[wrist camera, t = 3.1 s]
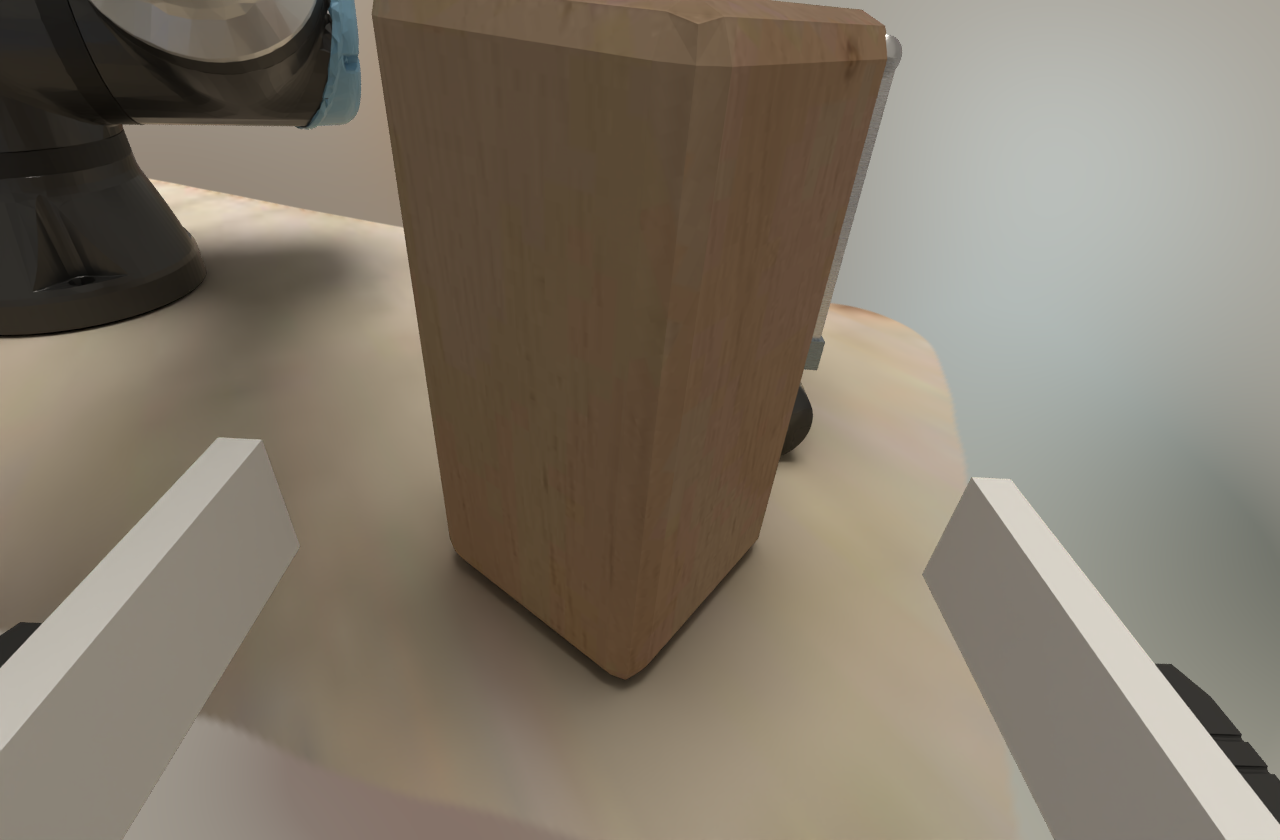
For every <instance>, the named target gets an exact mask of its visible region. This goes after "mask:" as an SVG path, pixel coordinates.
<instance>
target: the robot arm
mask: <svg viewBox="0 0 1280 840" xmlns="http://www.w3.org/2000/svg"><path fill="white" fill-rule="evenodd" d="M358 44H359V39H358V28H357V19H356V10H355V3H354V0H0V335H21V334H37V333H48V332H57V331H65V330H72V329H78V328H84V327H89V326H95V325H99V324H104V323H109V322H113V321H117V320H121V319H125V318H128V317H132V316H135V315H138V314H142V313H145V312H148V311H151V310H153V309H156V308H159V307H161V306H164V305H166V304H168V303H170V302H173V301H175V300H177V299H179V298H181V297H182V296H184V295H186V294H187V293H189V292H190V291H192V290H193V289H195V288H196V287H197V286H198V285H199V284H200V283H201V282H202V280H203V279H204V277H205V275H206V268H205V265H204V262H203V259H202V257H201V254H200V251H199V248H198V245H197V243H196V241H195V239H194V238H193V236H192V235H191V234H190V233H189V232H188V231H187V230H186V229H185V228H184V227H183V226H182V225H181V223H180V222H179V220H178V219H177V217H176V216H175V214H174V213H173V212H172V210H171V209H170V207H169V206H168V205H167V203H166V202H165V200H164V199H163V198H162V196H161V195H160V194H159V192H158V191H157V190H156V188H155V187H154V186H153V184H152V183H151V182H150V180H149V179H148V178H147V177H146V175H145V174H144V173H143V171H142V170H141V169H140V167H139V166H138V164H137V162H136V160H135V157H134V155H133V152H132V150H131V147H130V145H129V142H128V139H127V137H126V134H125V132H124V129H123V125H122V124H129V125H133V124H135V125H136V124H137V125H139V124H140V125H145V124H152V125H157V124H158V125H236V126H295V127H297V128H300V129H313V128H315V127H317V126H322V125H323V126H325V125H342V124H346V123H348V122H350V121H351V120H352V119H353V118H354V117H355V116H356V114H357V112H358V109H359V105H360V98H361V72H360V63H359V59H358V54H359V50H358ZM299 548H300V545H299V542H298V539H297V536H296V534H295V531H294V528H293V525H292V522H291V519H290V517H289V514H288V511H287V508H286V505H285V503H284V500H283V497H282V494H281V491H280V488H279V486H278V483H277V480H276V477H275V474H274V472H273V469H272V466H271V463H270V460H269V458H268V455H267V452H266V449H265V446H264V443H263V441H262V440H261V439H242V438H223V437H218V438H217V439H216V440H215V441H214V442H213V443H212V444H211V445H210V446H209V447H208V448H207V450H206V451H205V452H204V453H203V454H202V455H201V456H200V457H199V458H198V459H197V460H196V461H195V462H194V463H193V464H192V465H191V467H190V468H189V469H188V470H187V471H186V472H185V473H184V474H183V475H182V476H181V477H180V478H179V479H178V480H177V481H176V482H175V483H174V485H173V486H172V487H171V488H170V489H169V490H168V491H167V492H166V493H165V494H164V495H163V496H162V497H161V498H160V499H159V500H158V501H157V503H156V504H155V505H154V506H153V507H152V508H151V509H150V510H149V511H148V512H147V513H146V514H145V515H144V516H143V517H142V518H141V519H140V521H139V522H138V523H137V524H136V525H135V526H134V527H133V528H132V529H131V530H130V531H129V532H128V533H127V534H126V535H125V536H124V538H123V539H122V540H121V541H120V542H119V543H118V544H117V545H116V546H115V547H114V548H113V549H112V550H111V551H110V552H109V553H108V554H107V556H106V557H105V558H104V559H103V560H102V561H101V562H100V563H99V564H98V565H97V566H96V567H95V568H94V569H93V570H92V571H91V572H90V574H89V575H88V576H87V577H86V578H85V579H84V580H83V581H82V582H81V583H80V584H79V585H78V586H77V587H76V588H75V589H74V590H73V592H72V593H71V594H70V595H69V596H68V597H67V598H66V599H65V600H64V601H63V602H62V603H61V604H60V605H59V606H58V607H57V609H56V610H55V611H54V612H53V613H52V614H51V615H50V616H49V617H48V618H47V619H46V620H45V621H44V622H43V623H26V622H20V623H19V624H17V625H16V626H14V627H13V628H11V629H10V630H8V631H7V632H5V633H4V634H2V635H1V636H0V840H122V839H123V838H124V836H125V834H126V833H127V831H128V829H129V828H130V826H131V824H132V823H133V821H134V819H135V818H136V816H137V814H138V813H139V811H140V810H141V808H142V806H143V805H144V803H145V801H146V799H147V798H148V796H149V795H150V793H151V792H152V790H153V788H154V787H155V785H156V783H157V782H158V780H159V778H160V777H161V775H162V773H163V772H164V770H165V768H166V767H167V765H168V763H169V762H170V760H171V759H172V757H173V755H174V754H175V752H176V750H177V749H178V747H179V745H180V744H181V742H182V740H183V739H184V737H185V736H186V734H187V732H188V731H189V729H190V727H191V726H192V724H193V722H194V721H195V719H196V717H197V716H198V714H199V712H200V711H201V709H202V708H203V706H204V704H205V703H206V701H207V699H208V698H209V696H210V694H211V693H212V691H213V689H214V688H215V686H216V684H217V683H218V681H219V680H220V678H221V676H222V675H223V673H224V671H225V670H226V668H227V666H228V665H229V663H230V661H231V660H232V658H233V656H234V655H235V653H236V651H237V650H238V648H239V647H240V645H241V643H242V642H243V640H244V638H245V637H246V635H247V633H248V632H249V630H250V628H251V627H252V625H253V623H254V622H255V620H256V619H257V617H258V615H259V614H260V612H261V610H262V609H263V607H264V605H265V604H266V602H267V600H268V599H269V597H270V595H271V594H272V592H273V591H274V589H275V587H276V586H277V584H278V582H279V581H280V579H281V577H282V576H283V574H284V572H285V571H286V569H287V567H288V566H289V564H290V563H291V561H292V559H293V558H294V556H295V554H296V553H297V551H298V549H299ZM922 575H923V577H924V579H925V581H926V583H927V585H928V587H929V589H930V591H931V593H932V595H933V597H934V599H935V601H936V603H937V605H938V607H939V609H940V611H941V613H942V615H943V617H944V619H945V621H946V623H947V625H948V627H949V629H950V631H951V633H952V635H953V637H954V639H955V641H956V643H957V645H958V647H959V649H960V651H961V653H962V655H963V657H964V659H965V661H966V663H967V665H968V667H969V669H970V671H971V673H972V675H973V677H974V679H975V681H976V683H977V685H978V687H979V689H980V691H981V694H982V696H983V698H984V700H985V702H986V704H987V706H988V708H989V710H990V712H991V714H992V716H993V718H994V720H995V722H996V724H997V726H998V728H999V730H1000V732H1001V734H1002V736H1003V738H1004V740H1005V742H1006V744H1007V746H1008V748H1009V750H1010V752H1011V754H1012V756H1013V758H1014V760H1015V762H1016V764H1017V766H1018V768H1019V770H1020V772H1021V773H1022V776H1023V778H1024V780H1025V782H1026V784H1027V786H1028V788H1029V790H1030V792H1031V794H1032V796H1033V798H1034V800H1035V802H1036V804H1037V806H1038V808H1039V810H1040V812H1041V814H1042V816H1043V818H1044V820H1045V822H1046V824H1047V826H1048V828H1049V830H1050V832H1051V834H1052V836H1053V838H1054V840H1280V780H1279V779H1278V778H1277V777H1276V775H1275V774H1270V773H1269V772H1268V770H1267V767H1268V766H1267V765H1266V763H1265V762H1264V761H1263V760H1262V759H1261V757H1260V756H1259V755H1258V754H1257V752H1256V751H1255V750H1254V749H1253V748H1252V746H1251V745H1250V744H1249V743H1248V742H1244V741H1243V740H1242V738H1241V735H1242V734H1241V733H1240V732H1239V731H1238V729H1237V728H1236V727H1235V726H1234V725H1233V723H1232V722H1231V721H1230V720H1229V718H1228V717H1227V716H1226V715H1225V714H1224V712H1223V711H1222V710H1221V709H1220V707H1219V706H1218V705H1217V704H1216V703H1215V701H1214V700H1213V699H1212V698H1211V697H1210V696H1209V695H1208V694H1207V693H1206V692H1204V691H1203V690H1202V689H1201V688H1199V687H1198V686H1197V685H1196V684H1195V683H1193V682H1192V681H1191V680H1190V679H1188V678H1187V677H1186V676H1185V675H1184V674H1183V673H1181V672H1180V671H1179V670H1178V669H1177V668H1175V667H1174V666H1173V665H1172V664H1154V663H1153V661H1152V660H1151V659H1150V658H1149V656H1148V655H1147V654H1146V652H1145V651H1144V650H1143V648H1142V647H1141V646H1140V645H1139V643H1138V642H1137V641H1136V640H1135V638H1134V637H1133V636H1132V634H1131V633H1130V632H1129V631H1128V629H1127V628H1126V627H1125V626H1124V624H1123V623H1122V622H1121V620H1120V619H1119V618H1118V617H1117V615H1116V614H1115V613H1114V611H1113V610H1112V609H1111V607H1110V606H1109V605H1108V604H1107V602H1106V601H1105V600H1104V598H1103V597H1102V596H1101V595H1100V593H1099V592H1098V591H1097V589H1096V588H1095V587H1094V586H1093V584H1092V583H1091V582H1090V581H1089V579H1088V578H1087V577H1086V575H1085V574H1084V573H1083V572H1082V570H1081V569H1080V568H1079V566H1078V565H1077V564H1076V563H1075V561H1074V560H1073V559H1072V557H1071V556H1070V555H1069V554H1068V552H1067V551H1066V550H1065V548H1064V547H1063V546H1062V545H1061V543H1060V542H1059V541H1058V539H1057V538H1056V537H1055V536H1054V535H1053V533H1052V532H1051V530H1050V529H1049V528H1048V527H1047V525H1046V524H1045V523H1044V521H1043V520H1042V519H1041V518H1040V516H1039V515H1038V514H1037V512H1036V511H1035V510H1034V509H1033V508H1032V506H1031V505H1030V504H1029V502H1028V501H1027V500H1026V498H1025V497H1024V496H1023V494H1022V493H1021V492H1020V491H1019V490H1018V488H1017V487H1016V486H1015V484H1014V483H1013V482H1012V480H1011V479H997V478H978V477H972V478H971V479H970V481H969V483H968V485H967V487H966V489H965V491H964V493H963V495H962V497H961V499H960V501H959V503H958V505H957V507H956V509H955V511H954V513H953V515H952V517H951V519H950V521H949V523H948V525H947V527H946V529H945V531H944V533H943V535H942V536H941V538H940V540H939V542H938V544H937V546H936V548H935V550H934V552H933V554H932V556H931V558H930V560H929V562H928V564H927V566H926V568H925V570H924V572H923V574H922Z"/></svg>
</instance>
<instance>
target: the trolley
mask: <svg viewBox="0 0 1280 840" xmlns="http://www.w3.org/2000/svg"><path fill="white" fill-rule="evenodd" d="M886 47H887V62H886V66H885V70H884V74H883V77H882V81H881V85H880V88H879V92H878V96H877V99H876V103H875V107H874V111H873V114H872V118H871V122H870V125H869V129H868V133H867V137H866V140H865V144H864V148H863V151H862V155H861V159H860V162H859V166H858V170H857V174H856V177H855V181H854V185H853V188H852V192H851V196H850V200H849V203H848V207H847V211H846V214H845V218H844V222H843V226H842V229H841V233H840V237H839V240H838V244H837V248H836V251H835V255H834V259H833V263H832V266H831V270H830V274H829V277H828V281H827V285H826V289H825V292H824V296H823V300H822V303H821V307H820V311H819V315H818V318H817V322H816V326H815V329H814V333H813V337H812V340H811V344H810V348H809V352H808V355H807V359H806V363H805V366H804V369H807V370H817V368H818V365H819V361H820V358H821V354H822V351H823V347H824V344H825V341H824V339H823V337H822V336H821V334H822V331H823V327H824V324H825V320H826V316H827V313H828V309H829V306H830V302H831V299H832V295H833V291H834V288H835V284H836V280H837V277H838V273H839V270H840V266H841V263H842V259H843V255H844V251H845V248H846V245H847V241H848V237H849V234H850V230H851V227H852V223H853V220H854V216H855V212H856V209H857V205H858V201H859V198H860V194H861V191H862V187H863V184H864V180H865V176H866V173H867V169H868V166H869V162H870V158H871V155H872V151H873V147H874V144H875V141H876V137H877V133H878V130H879V126H880V123H881V119H882V115H883V112H884V108H885V104H886V101H887V97H888V94H889V90H890V86H891V83H892V79H893V75H894V72H895V69H896V68H897V66H898V64H899V62H900V60H901V56H902V47H901V44H900V42H899V40H898V39H896V37H894V36H891V35H886ZM812 419H813V413H812V407H811V404H810V402H809V399H808V397H807V395H806V392H805V390H804V388H803V385H802V383H801V382H800V385H799V389H798V392H797V396H796V400H795V403H794V407H793V411H792V415H791V418H790V422H789V426H788V429H787V433H786V437H785V441H784V444H783V448H782V452H781V455H784V454H786V453H787V452H789V451H791V450H792V449H794V448H795V447H796V446H798V445H799V444H800V443H801V442H802V441H803V439H804V438H805V437H806V435H807V434H808V432H809V430H810V427H811V424H812ZM781 455H780V456H781Z"/></svg>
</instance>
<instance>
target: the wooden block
mask: <svg viewBox="0 0 1280 840" xmlns="http://www.w3.org/2000/svg"><path fill="white" fill-rule="evenodd" d="M372 19H373V26H374V32H375V39H376V46H377V53H378V60H379V65H380V72H381V80H382V86H383V93H384V100H385V106H386V113H387V120H388V126H389V133H390V140H391V147H392V153H393V160H394V167H395V173H396V180H397V187H398V194H399V200H400V207H401V214H402V220H403V227H404V234H405V240H406V247H407V254H408V260H409V267H410V274H411V281H412V287H413V294H414V301H415V307H416V314H417V321H418V327H419V334H420V341H421V347H422V354H423V361H424V368H425V374H426V381H427V388H428V394H429V401H430V408H431V414H432V421H433V428H434V435H435V441H436V448H437V455H438V461H439V468H440V475H441V481H442V488H443V495H444V501H445V508H446V515H447V522H448V528H449V535H450V539H451V542H452V544H453V547H454V549H455V551H456V552H457V553H458V554H459V555H460V556H461V557H462V558H463V559H464V560H465V561H467V562H468V563H469V564H470V565H472V566H473V567H474V568H475V569H477V570H478V571H479V572H481V573H482V574H483V575H484V576H486V577H487V578H488V579H489V580H491V581H492V582H493V583H495V584H496V585H497V586H498V587H500V588H501V589H502V590H503V591H505V592H506V593H507V594H508V595H510V596H511V597H512V598H514V599H515V600H516V601H517V602H519V603H520V604H521V605H522V606H524V607H525V608H526V609H528V610H529V611H530V612H531V613H533V614H534V615H535V616H536V617H538V618H539V619H540V620H542V621H543V622H544V623H545V624H547V625H548V626H549V627H550V628H552V629H553V630H554V631H556V632H557V633H558V634H559V635H561V636H562V637H563V638H564V639H566V640H567V641H568V642H570V643H571V644H572V645H573V646H575V647H576V648H577V649H578V650H580V651H581V652H582V653H584V654H585V655H586V656H587V657H589V658H590V659H591V660H592V661H594V662H595V663H596V664H598V665H599V666H600V667H601V668H603V669H604V670H605V671H606V672H608V673H609V674H610V675H613V676H616V677H619V678H622V679H625V680H626V679H628V678H630V677H631V676H633V675H635V674H637V673H639V672H640V671H641V670H642V669H643V668H645V667H646V666H647V665H648V664H649V663H650V662H651V660H652V659H653V658H654V657H655V656H656V655H657V654H658V652H659V651H660V650H661V649H662V648H663V647H664V646H665V644H666V643H667V642H668V641H669V640H670V639H671V638H672V636H673V635H674V634H675V633H676V632H677V631H678V630H679V628H680V627H681V626H682V625H683V624H684V623H685V622H686V620H687V619H688V618H689V617H690V616H691V615H692V614H693V612H694V611H695V610H696V609H697V608H698V607H699V606H700V604H701V603H702V602H703V601H704V600H705V599H706V598H707V596H708V595H709V594H710V593H711V592H712V591H713V590H714V588H715V587H716V586H717V585H718V584H719V583H720V582H721V580H722V579H723V578H724V577H725V576H726V575H727V574H728V572H729V571H730V570H731V569H732V568H733V567H734V566H735V564H736V563H737V562H738V561H739V560H740V559H741V558H742V556H743V555H744V554H745V553H746V552H747V551H748V550H749V548H750V547H751V546H752V545H753V544H754V543H755V542H756V540H757V539H758V537H759V533H760V530H761V526H762V522H763V518H764V515H765V511H766V507H767V504H768V500H769V496H770V492H771V489H772V485H773V481H774V478H775V474H776V470H777V467H778V463H779V459H780V455H781V452H782V448H783V444H784V441H785V437H786V433H787V429H788V426H789V422H790V418H791V415H792V411H793V407H794V403H795V400H796V396H797V392H798V389H799V385H800V381H801V378H802V374H803V370H804V366H805V363H806V359H807V355H808V352H809V348H810V344H811V340H812V337H813V333H814V329H815V326H816V322H817V318H818V315H819V311H820V307H821V303H822V300H823V296H824V292H825V289H826V285H827V281H828V277H829V274H830V270H831V266H832V263H833V259H834V255H835V251H836V248H837V244H838V240H839V237H840V233H841V229H842V226H843V222H844V218H845V214H846V211H847V207H848V203H849V200H850V196H851V192H852V188H853V185H854V181H855V177H856V174H857V170H858V166H859V162H860V159H861V155H862V151H863V148H864V144H865V140H866V137H867V133H868V129H869V125H870V122H871V118H872V114H873V111H874V107H875V103H876V99H877V96H878V92H879V88H880V85H881V81H882V77H883V74H884V70H885V66H886V62H887V47H886V29H885V26H884V25H883V24H881V23H880V22H879V21H877V20H876V19H874V18H873V17H871V16H870V15H869V14H867V13H866V12H864V11H863V10H859V9H849V8H838V7H829V6H819V5H809V4H800V3H790V2H780V1H771V0H374V2H373V9H372Z"/></svg>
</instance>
